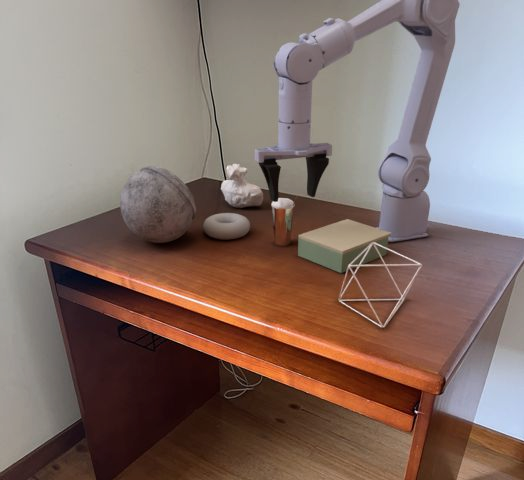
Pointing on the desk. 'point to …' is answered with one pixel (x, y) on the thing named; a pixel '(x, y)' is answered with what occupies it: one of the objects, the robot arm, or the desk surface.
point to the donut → (226, 226)
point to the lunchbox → (339, 255)
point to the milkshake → (282, 220)
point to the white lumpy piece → (240, 188)
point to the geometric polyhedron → (389, 274)
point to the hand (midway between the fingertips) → (292, 197)
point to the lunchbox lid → (344, 236)
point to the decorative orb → (157, 205)
